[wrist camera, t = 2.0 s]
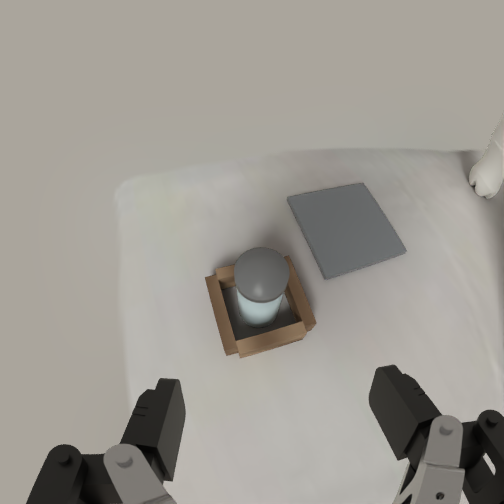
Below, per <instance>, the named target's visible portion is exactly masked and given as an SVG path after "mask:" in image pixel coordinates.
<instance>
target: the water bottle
mask: <svg viewBox="0 0 504 504" xmlns="http://www.w3.org/2000/svg"><path fill="white" fill-rule="evenodd" d="M503 180H504V112H503V114H502V117H501V119H500V121H499V123H498V125H497V127H496V129H495V130H494V132H493V134H492V136H491V140H490V144H489V146H488V148H487V150H486V152H485V154H484V155H483V157H482V158H481V159H480V160H479V161H478V162H477V163H476V164H475V165H473V167H472V169H471V171H470V175H469V183H470V185H471V186H473V185H476V186H475V192H476V194H478V195H479V196H485V198H486V199H489V198H492V197H493V196H495V195H496V194H497V193H498V192H499V190H500V187H501V184H502V182H503Z"/></svg>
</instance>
